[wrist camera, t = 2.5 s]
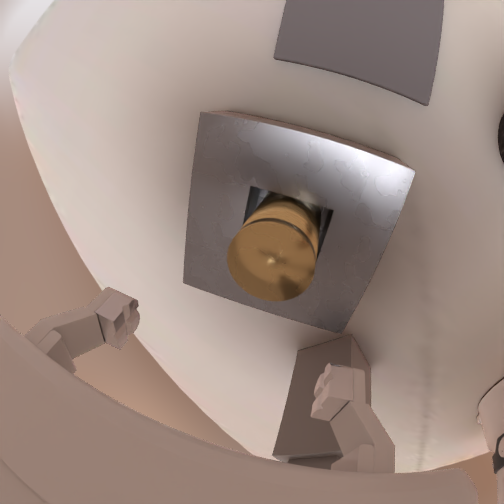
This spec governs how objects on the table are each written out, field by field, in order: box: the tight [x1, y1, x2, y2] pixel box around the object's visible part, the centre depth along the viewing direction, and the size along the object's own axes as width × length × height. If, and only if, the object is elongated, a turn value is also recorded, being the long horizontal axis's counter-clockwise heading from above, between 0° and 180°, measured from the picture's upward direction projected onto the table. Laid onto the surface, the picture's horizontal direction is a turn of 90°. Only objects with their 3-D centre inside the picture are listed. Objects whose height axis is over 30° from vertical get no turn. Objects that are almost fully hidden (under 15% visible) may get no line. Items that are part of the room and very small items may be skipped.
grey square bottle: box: [272, 334, 371, 470], centre depth 22 cm, size 7×7×18 cm
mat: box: [273, 0, 444, 106], centre depth 13 cm, size 12×12×1 cm
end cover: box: [227, 191, 321, 301], centre depth 19 cm, size 5×5×8 cm
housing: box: [183, 111, 416, 334], centre depth 21 cm, size 14×14×5 cm
